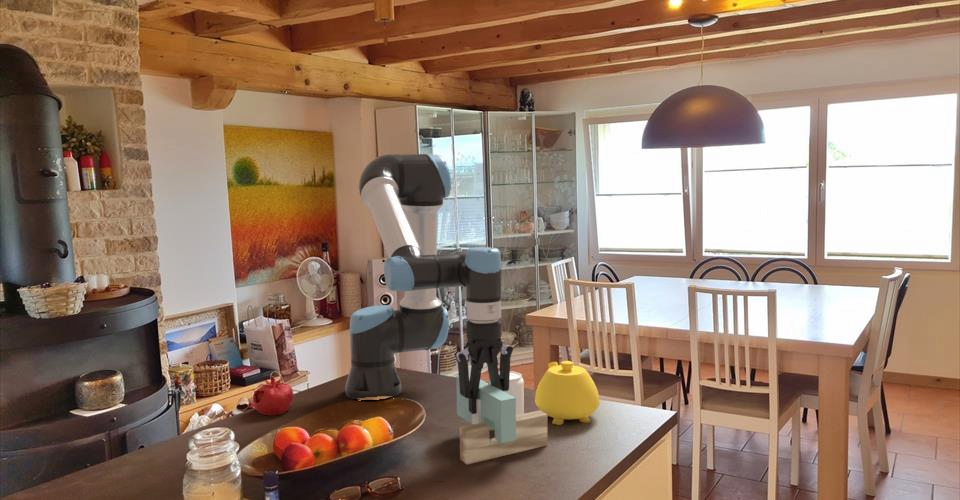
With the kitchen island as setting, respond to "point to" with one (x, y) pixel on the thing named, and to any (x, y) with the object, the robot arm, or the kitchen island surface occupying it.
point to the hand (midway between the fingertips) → (485, 425)
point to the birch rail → (527, 437)
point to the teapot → (567, 393)
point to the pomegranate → (273, 397)
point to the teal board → (492, 410)
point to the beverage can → (516, 390)
